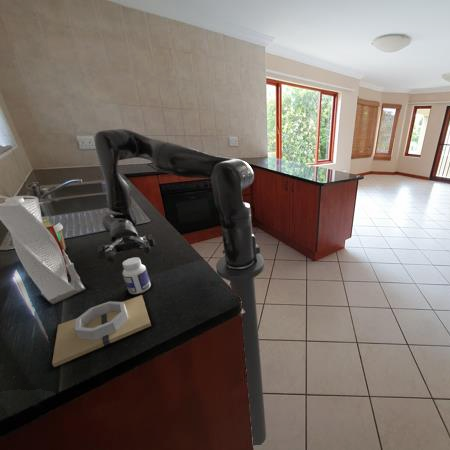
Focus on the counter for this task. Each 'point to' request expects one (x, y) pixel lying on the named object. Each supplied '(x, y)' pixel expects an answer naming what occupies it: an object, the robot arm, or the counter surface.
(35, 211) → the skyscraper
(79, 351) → the pad dock
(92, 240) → the counter surface
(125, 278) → the pill bottle
